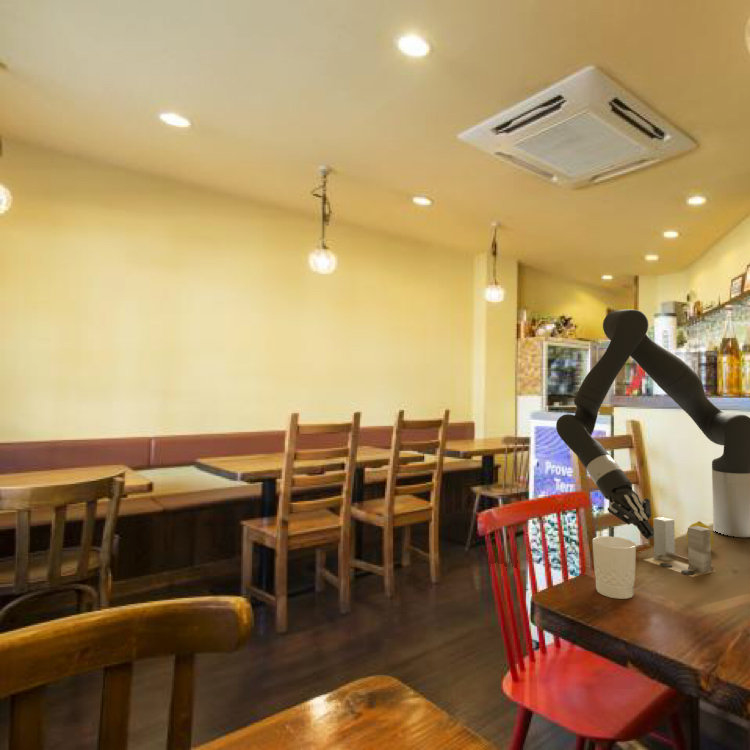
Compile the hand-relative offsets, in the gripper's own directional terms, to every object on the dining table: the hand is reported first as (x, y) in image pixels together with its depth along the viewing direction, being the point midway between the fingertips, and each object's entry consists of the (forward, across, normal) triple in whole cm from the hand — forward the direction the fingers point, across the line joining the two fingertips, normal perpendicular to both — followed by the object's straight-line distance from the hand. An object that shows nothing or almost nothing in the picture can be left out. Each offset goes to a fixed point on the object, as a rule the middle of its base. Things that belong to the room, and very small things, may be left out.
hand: (651, 536), depth 122 cm
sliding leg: (+5, 0, +1) cm, 5 cm away
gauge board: (+9, -1, -2) cm, 9 cm away
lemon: (+6, +14, +2) cm, 15 cm away
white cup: (+11, -24, -3) cm, 27 cm away
